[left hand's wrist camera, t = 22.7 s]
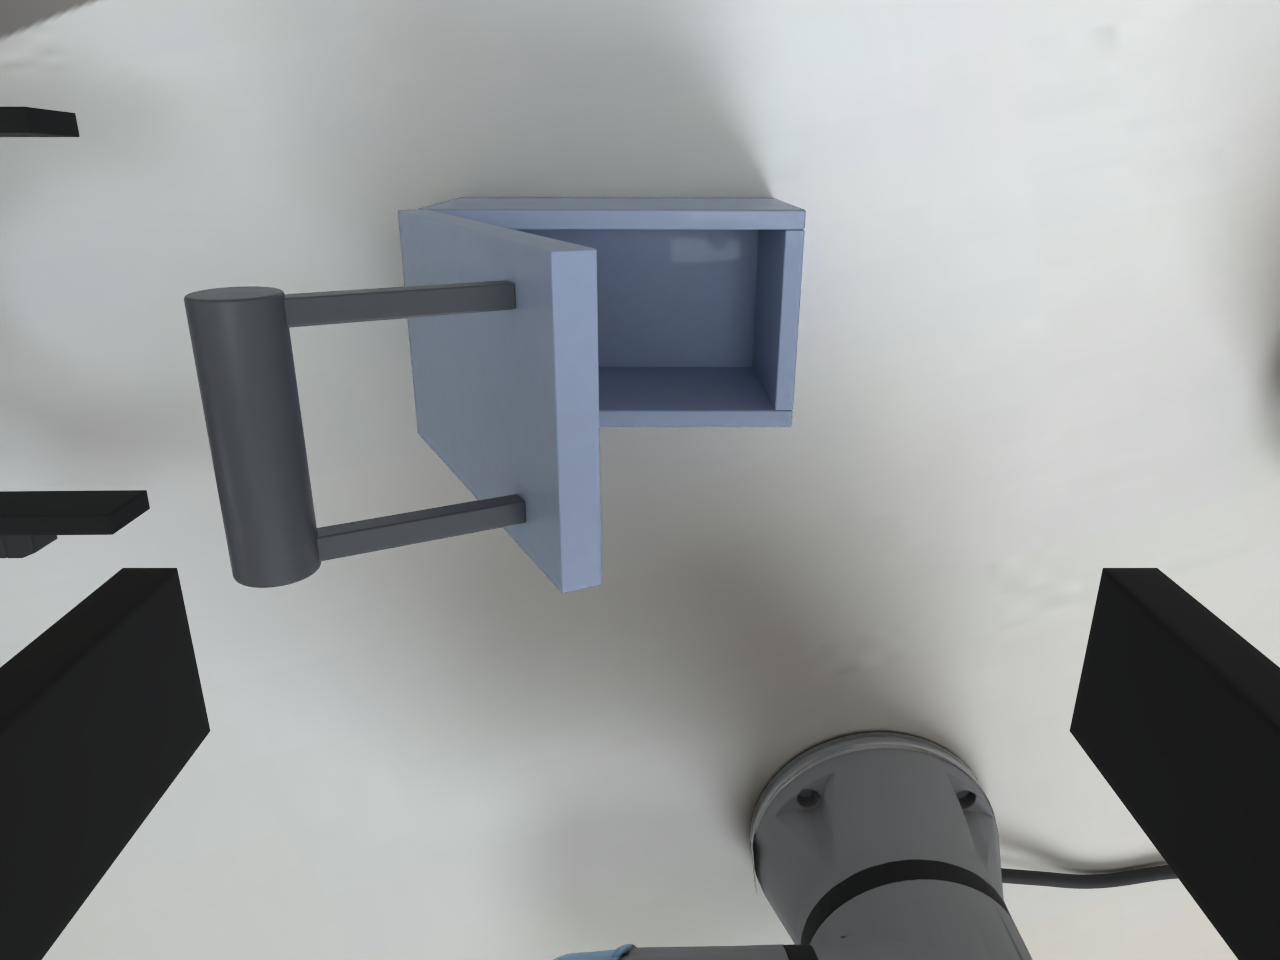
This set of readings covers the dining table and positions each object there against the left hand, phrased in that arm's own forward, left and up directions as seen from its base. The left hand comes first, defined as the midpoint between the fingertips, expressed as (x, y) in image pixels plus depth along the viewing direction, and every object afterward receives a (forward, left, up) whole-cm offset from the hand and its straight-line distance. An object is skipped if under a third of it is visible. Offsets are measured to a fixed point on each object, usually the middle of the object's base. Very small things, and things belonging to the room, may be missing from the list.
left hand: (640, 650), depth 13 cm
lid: (+5, 0, -18) cm, 19 cm away
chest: (+1, 0, -34) cm, 34 cm away
